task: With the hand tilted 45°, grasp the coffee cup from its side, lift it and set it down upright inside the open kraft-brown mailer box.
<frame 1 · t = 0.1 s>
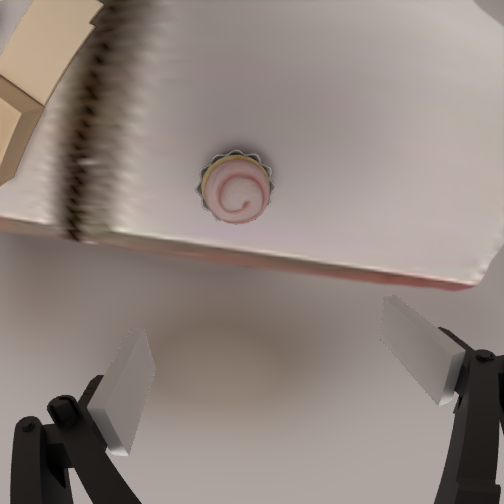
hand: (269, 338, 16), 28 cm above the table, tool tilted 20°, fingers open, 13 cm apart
cupcake: (234, 175, 40), on the table
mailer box: (1, 123, 30), on the table
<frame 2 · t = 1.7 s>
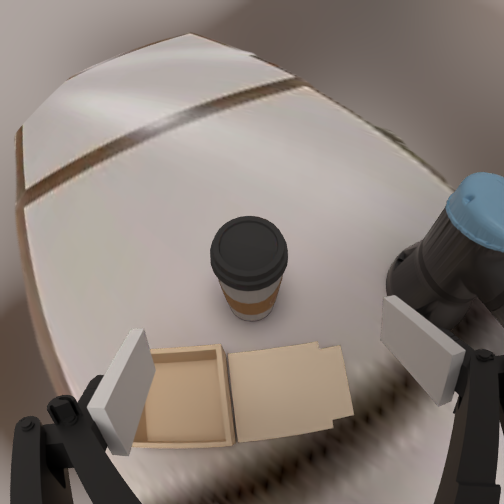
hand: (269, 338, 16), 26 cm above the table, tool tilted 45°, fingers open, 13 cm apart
coffee cup: (251, 301, 44), on the table
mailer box: (184, 401, 37), on the table
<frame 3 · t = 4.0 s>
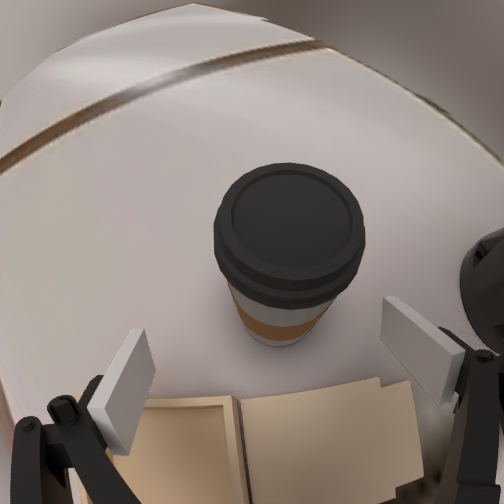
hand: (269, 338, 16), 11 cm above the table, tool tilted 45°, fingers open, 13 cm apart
coffee cup: (277, 315, 28), on the table
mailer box: (173, 468, 21), on the table
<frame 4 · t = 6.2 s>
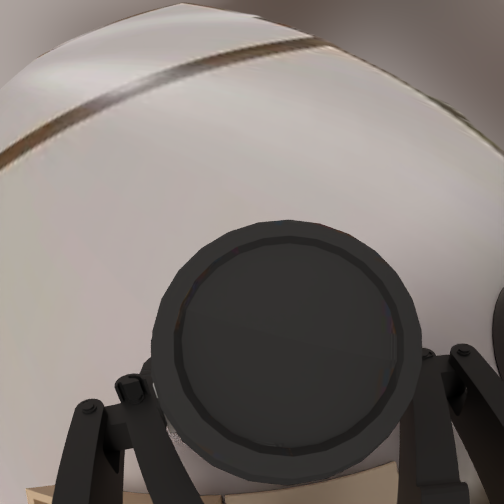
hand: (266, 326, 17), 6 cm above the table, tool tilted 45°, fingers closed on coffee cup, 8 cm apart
coffee cup: (270, 393, 20), on the table, touching gripper
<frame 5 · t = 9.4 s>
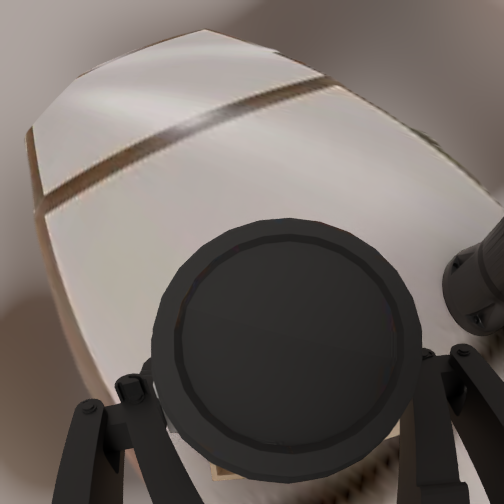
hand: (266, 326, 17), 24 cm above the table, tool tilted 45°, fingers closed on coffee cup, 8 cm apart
coffee cup: (270, 392, 20), point 18 cm above the table, touching gripper
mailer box: (261, 423, 34), on the table
when the fingers open (8 cm above the table, at t = 12.9 s): coffee cup drops 2 cm, resting on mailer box.
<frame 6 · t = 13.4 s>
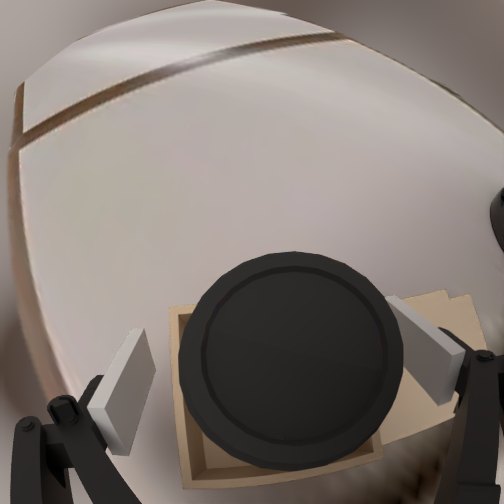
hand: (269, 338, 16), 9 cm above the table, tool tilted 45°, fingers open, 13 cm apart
coffee cup: (273, 396, 22), resting on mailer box
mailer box: (269, 396, 22), on the table
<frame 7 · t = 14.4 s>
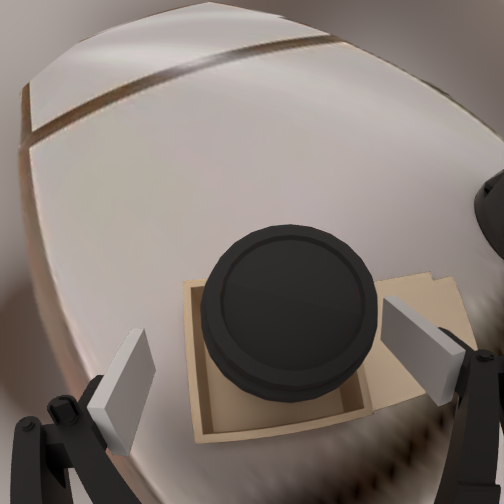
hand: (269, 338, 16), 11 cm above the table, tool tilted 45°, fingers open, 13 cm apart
coffee cup: (273, 364, 26), resting on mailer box
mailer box: (270, 364, 26), on the table
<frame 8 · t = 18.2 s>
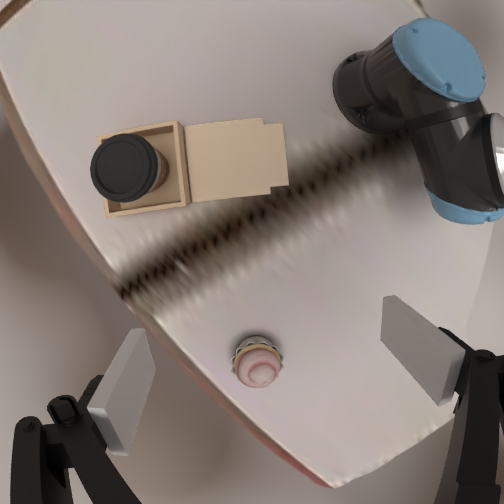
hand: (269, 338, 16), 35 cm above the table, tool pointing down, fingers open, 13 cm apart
cupcake: (255, 349, 55), on the table
coffee cup: (150, 170, 46), resting on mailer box
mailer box: (149, 170, 46), on the table
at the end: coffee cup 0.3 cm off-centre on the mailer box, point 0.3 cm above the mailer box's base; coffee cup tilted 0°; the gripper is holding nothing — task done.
